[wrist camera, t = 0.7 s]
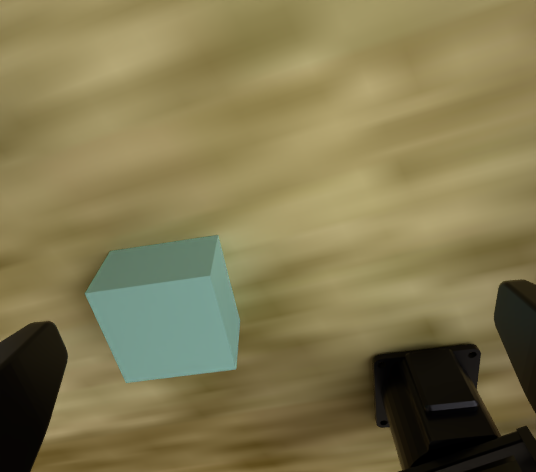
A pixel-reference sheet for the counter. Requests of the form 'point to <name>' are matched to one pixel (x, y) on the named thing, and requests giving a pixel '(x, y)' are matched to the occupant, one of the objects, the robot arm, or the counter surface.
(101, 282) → the teal block
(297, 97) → the counter surface
